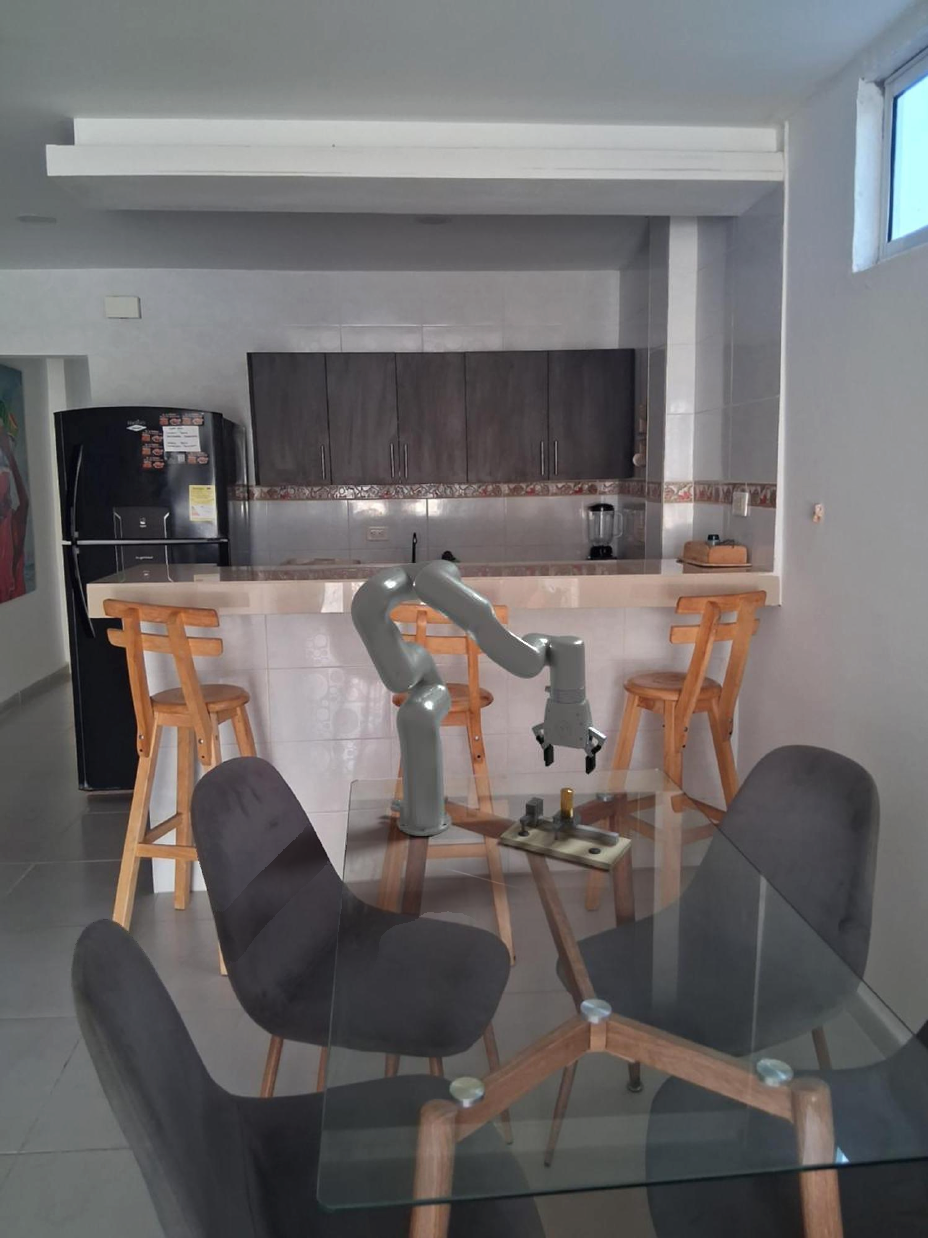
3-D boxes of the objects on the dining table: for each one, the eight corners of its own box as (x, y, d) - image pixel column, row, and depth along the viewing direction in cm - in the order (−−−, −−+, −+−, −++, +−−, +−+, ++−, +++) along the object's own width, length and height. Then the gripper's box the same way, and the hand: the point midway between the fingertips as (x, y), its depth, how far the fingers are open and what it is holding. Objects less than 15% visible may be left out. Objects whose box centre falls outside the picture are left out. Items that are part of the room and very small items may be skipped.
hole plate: (500, 842, 210) (499, 813, 208) (524, 820, 220) (524, 793, 218) (610, 870, 197) (610, 839, 196) (631, 846, 207) (631, 816, 206)
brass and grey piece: (545, 837, 208) (544, 798, 205) (560, 823, 214) (560, 784, 212) (565, 842, 205) (566, 803, 203) (580, 827, 212) (581, 789, 209)
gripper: (523, 694, 205) (526, 768, 209) (598, 704, 196) (599, 781, 200) (539, 684, 211) (541, 756, 215) (612, 693, 202) (613, 768, 206)
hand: (569, 768), depth 207 cm, fingers open, 9 cm apart
